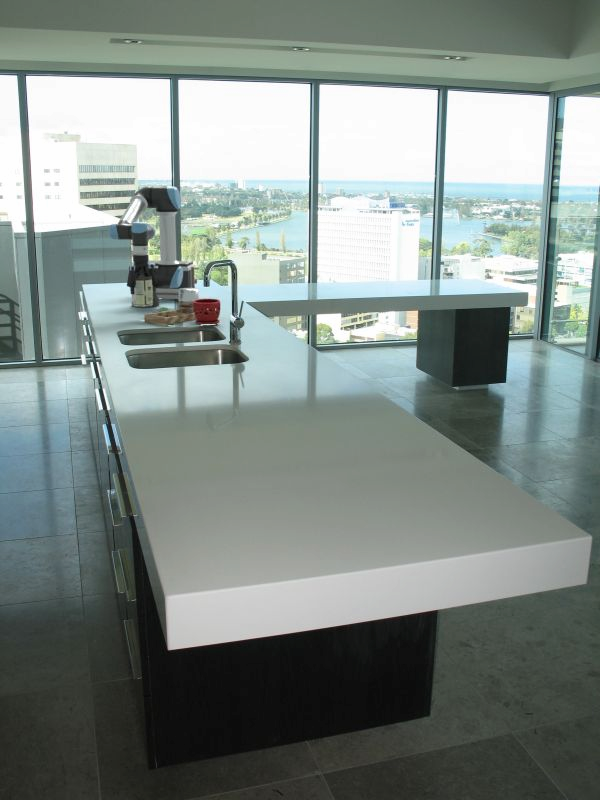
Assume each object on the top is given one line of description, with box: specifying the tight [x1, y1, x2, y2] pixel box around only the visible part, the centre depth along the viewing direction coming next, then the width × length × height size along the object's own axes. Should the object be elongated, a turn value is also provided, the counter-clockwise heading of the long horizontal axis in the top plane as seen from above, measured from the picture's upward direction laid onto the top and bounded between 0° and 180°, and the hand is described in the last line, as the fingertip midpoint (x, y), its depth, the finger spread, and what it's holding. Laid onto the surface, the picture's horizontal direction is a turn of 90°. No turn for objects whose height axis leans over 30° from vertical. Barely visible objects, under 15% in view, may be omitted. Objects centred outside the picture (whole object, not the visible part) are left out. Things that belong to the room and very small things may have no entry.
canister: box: [177, 287, 199, 314], centre depth 421 cm, size 10×10×14 cm
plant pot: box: [193, 298, 221, 325], centre depth 405 cm, size 13×13×12 cm
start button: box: [160, 306, 170, 312], centre depth 427 cm, size 4×4×4 cm
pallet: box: [143, 308, 197, 327], centre depth 417 cm, size 30×16×4 cm, turn 142°
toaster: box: [148, 259, 200, 299], centre depth 494 cm, size 18×34×21 cm, turn 85°
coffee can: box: [132, 275, 153, 308], centre depth 414 cm, size 10×10×14 cm
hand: (142, 299), depth 415 cm, fingers closed on coffee can, 10 cm apart
